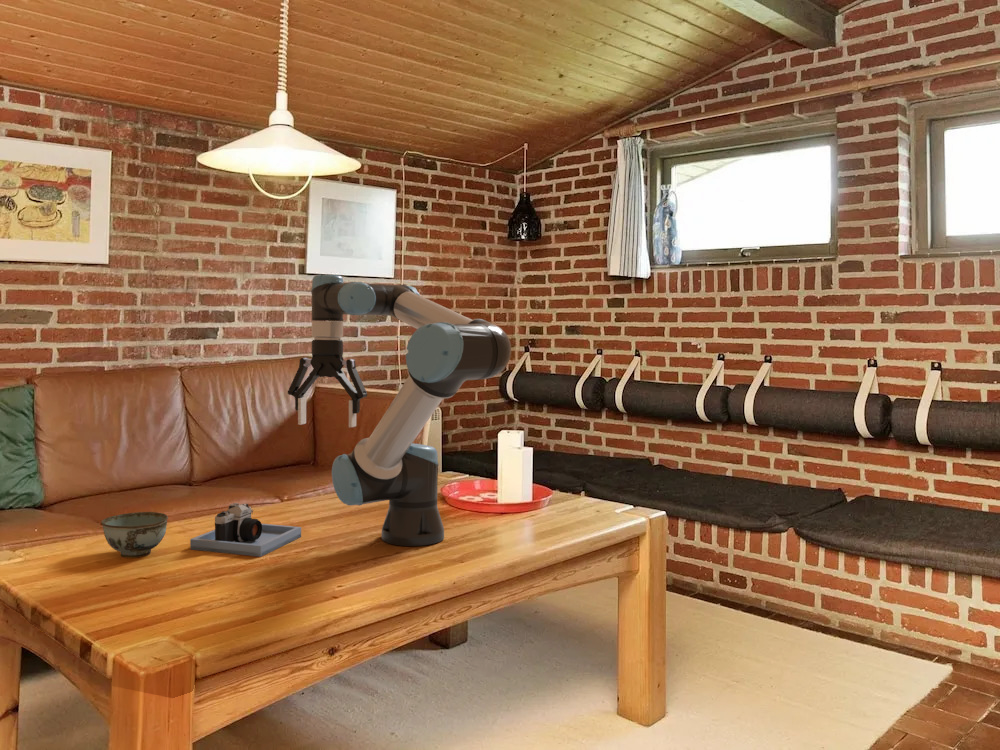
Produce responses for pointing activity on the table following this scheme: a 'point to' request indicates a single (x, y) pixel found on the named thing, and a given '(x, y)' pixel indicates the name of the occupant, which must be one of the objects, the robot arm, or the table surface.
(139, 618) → the table surface
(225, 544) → the tray
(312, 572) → the table surface
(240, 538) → the camera
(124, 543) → the bowl
